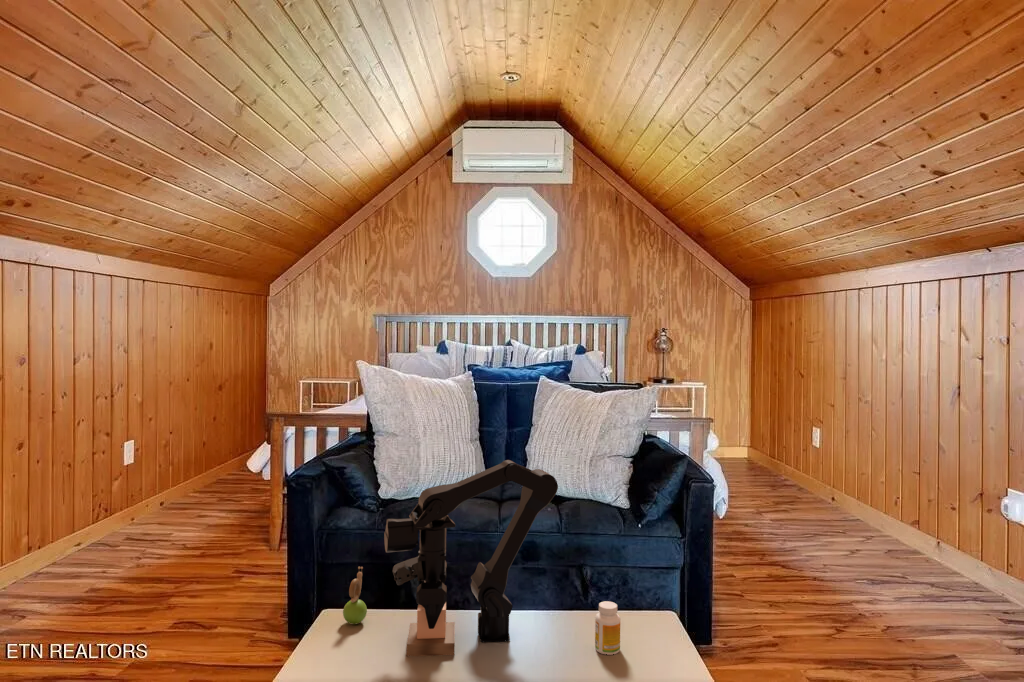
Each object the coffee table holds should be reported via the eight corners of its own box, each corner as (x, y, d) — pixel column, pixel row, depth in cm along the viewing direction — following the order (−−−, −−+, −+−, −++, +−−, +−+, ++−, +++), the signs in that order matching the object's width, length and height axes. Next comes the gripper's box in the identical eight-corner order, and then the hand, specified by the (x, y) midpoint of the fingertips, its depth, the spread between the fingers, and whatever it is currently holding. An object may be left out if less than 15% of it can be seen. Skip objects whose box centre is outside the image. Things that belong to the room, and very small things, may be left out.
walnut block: (454, 635, 146) (454, 622, 146) (454, 657, 136) (454, 643, 136) (409, 636, 145) (410, 623, 145) (406, 658, 135) (406, 644, 135)
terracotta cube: (445, 625, 144) (446, 599, 144) (445, 638, 138) (445, 609, 138) (418, 626, 143) (419, 599, 143) (417, 638, 137) (417, 610, 137)
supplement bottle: (624, 649, 139) (625, 604, 139) (610, 658, 136) (611, 612, 135) (604, 641, 143) (605, 597, 143) (589, 649, 139) (590, 604, 139)
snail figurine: (371, 616, 154) (371, 566, 154) (362, 628, 147) (362, 576, 147) (349, 615, 154) (349, 565, 154) (339, 627, 148) (340, 575, 148)
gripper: (398, 535, 149) (397, 602, 149) (391, 563, 130) (390, 640, 130) (447, 534, 150) (446, 600, 150) (446, 562, 131) (446, 638, 132)
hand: (431, 618), depth 141 cm, fingers open, 9 cm apart
